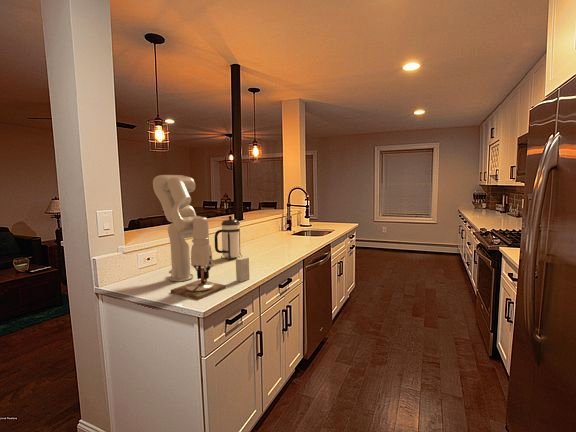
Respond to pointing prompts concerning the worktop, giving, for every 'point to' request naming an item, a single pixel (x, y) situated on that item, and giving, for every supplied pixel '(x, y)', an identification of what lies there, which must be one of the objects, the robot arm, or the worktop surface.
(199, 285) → the dial
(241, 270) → the skincare box
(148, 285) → the worktop surface
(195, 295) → the dial plate
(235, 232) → the coffee press
